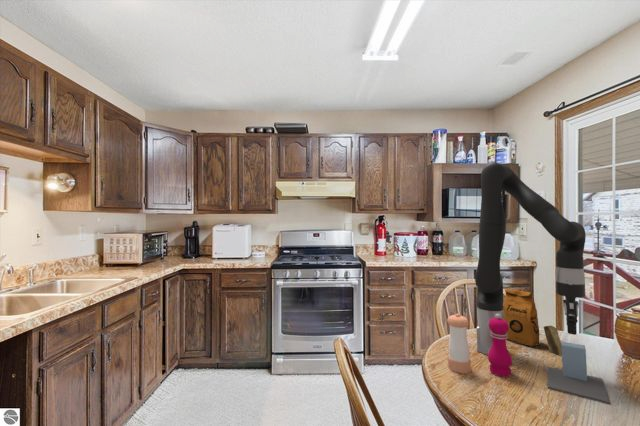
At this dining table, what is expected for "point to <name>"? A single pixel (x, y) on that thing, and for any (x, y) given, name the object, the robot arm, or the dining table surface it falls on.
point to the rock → (553, 340)
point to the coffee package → (521, 317)
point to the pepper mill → (499, 348)
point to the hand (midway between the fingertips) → (571, 330)
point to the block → (574, 360)
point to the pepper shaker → (458, 344)
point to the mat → (577, 385)
